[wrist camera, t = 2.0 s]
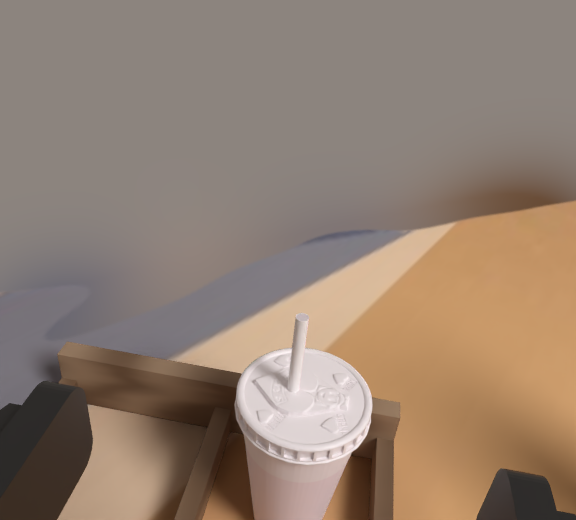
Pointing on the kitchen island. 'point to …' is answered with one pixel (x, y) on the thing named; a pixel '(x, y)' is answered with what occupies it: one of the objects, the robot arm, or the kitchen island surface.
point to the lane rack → (207, 414)
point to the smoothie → (299, 427)
